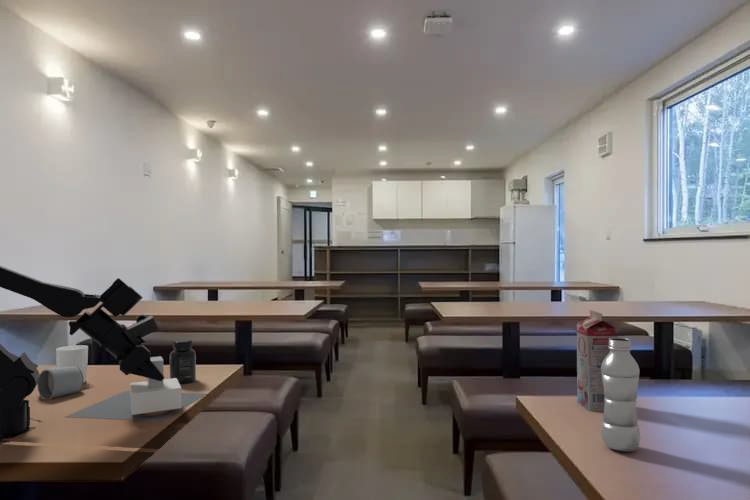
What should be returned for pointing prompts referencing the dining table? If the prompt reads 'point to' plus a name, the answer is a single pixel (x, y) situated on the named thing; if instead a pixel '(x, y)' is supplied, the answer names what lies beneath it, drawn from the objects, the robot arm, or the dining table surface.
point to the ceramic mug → (59, 381)
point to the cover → (155, 393)
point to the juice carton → (592, 360)
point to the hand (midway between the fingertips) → (161, 376)
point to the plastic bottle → (620, 397)
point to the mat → (128, 408)
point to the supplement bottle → (183, 362)
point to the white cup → (73, 357)
